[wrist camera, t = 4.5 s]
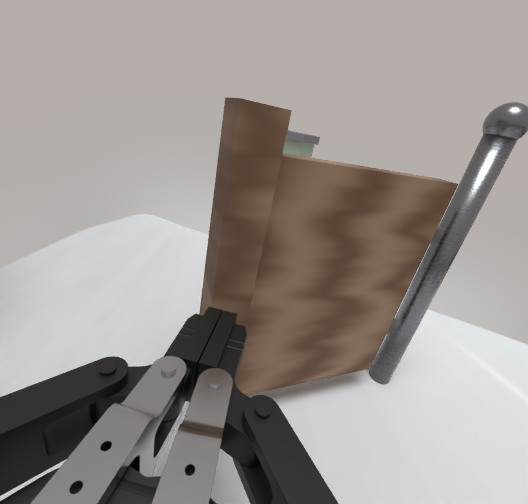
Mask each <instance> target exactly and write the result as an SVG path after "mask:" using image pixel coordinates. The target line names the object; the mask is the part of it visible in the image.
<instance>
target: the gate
mask: <svg viewBox="0 0 528 504" xmlns="http://www.w3.org/2000/svg"><path fill="white" fill-rule="evenodd" d="M290 116H291V111H290V110H287V109H283V108H278V107H274V106H270V105H266V104H261V103H257V102H253V101H249V100H245V99H240V98H225V106H224V114H223V122H222V131H221V139H220V147H219V156H218V164H217V173H216V182H215V189H214V197H213V206H212V214H211V222H210V231H209V239H208V247H207V256H206V264H205V272H204V281H203V289H202V297H201V306H200V314H199V315H204V313H205V312H206V310H207V308H208V307H213V308H217V309H221V310H223V311H224V310H225V311H229V312H233V313H237V314H238V316H237V322H236V324H238V325H241V326H245V329H246V333H247V336H246V341H245V346H244V350H243V355H242V359H241V362H240V366H239V369H238V372H237V376H236V379H235V384H236V386H237V388H238V389H239V390H240V391H241V392H242V393H243V394H245V395H247V394H252V393H256V392H261V391H266V390H271V389H275V388H280V387H285V386H289V385H294V384H299V383H304V382H308V381H313V380H318V379H323V378H327V377H332V376H337V375H342V374H346V373H351V372H356V371H361V370H365V369H370V367H371V365H372V363H373V361H374V359H375V357H376V355H377V353H378V351H379V348H380V346H381V344H382V342H383V340H384V338H385V336H386V334H391V333H395V331H396V329H397V327H398V325H399V323H400V322H398V321H397V320H396V319H395V318H394V317H395V315H396V313H397V311H398V309H399V307H400V305H401V303H402V301H403V298H404V296H405V294H406V292H407V290H408V288H409V286H410V284H411V282H412V280H413V278H414V275H415V273H416V271H417V269H418V267H419V265H420V263H421V261H422V259H423V257H424V255H425V253H426V250H427V248H428V246H429V244H439V242H440V240H441V238H442V236H443V234H444V232H445V230H446V229H443V228H441V227H439V226H438V225H439V223H440V221H441V219H442V217H443V215H444V213H445V211H446V209H447V207H448V205H449V202H450V200H451V198H452V196H453V194H454V192H455V190H456V188H457V186H458V184H456V183H452V182H448V181H445V180H441V179H436V178H430V177H424V176H418V175H412V174H406V173H400V172H394V171H388V170H382V169H376V168H370V167H364V166H358V165H352V164H346V163H339V162H334V161H328V160H321V159H315V158H310V157H304V156H298V155H292V154H286V153H283V149H284V144H285V139H286V135H287V130H288V125H289V120H290Z"/></svg>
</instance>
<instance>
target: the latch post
mask: <svg viewBox="0 0 528 504" xmlns="http://www.w3.org/2000/svg"><path fill="white" fill-rule="evenodd" d="M319 139H320V137H316V136H312V135H308V134H303V133H298V132H294V131H289V130H287V135H286V139H285V144H284V149H283V153H286V154H292V155H298V156H304V157H310V158H311V156H312V152H313V148H314V144H317V145H318V143H319Z"/></svg>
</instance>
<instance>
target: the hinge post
mask: <svg viewBox="0 0 528 504" xmlns="http://www.w3.org/2000/svg"><path fill="white" fill-rule="evenodd" d="M527 131H528V107H527V106H526V105H524V104H521V103H517V102H512V103H507V104H503V105H501V106H499V107H497V108H496V109H494V110H493V111H492V112H491V113H490V114H489V115H488V116H487V117H486V119H485V121H484V124H483V136H482V138H481V140H480V142H479V144H478V146H477V149H476V151H475V153H474V155H473V157H472V159H471V161H470V163H469V165H468V167H467V169H466V172H465V174H464V176H463V178H462V180H461V182H460V184H459V186H458V188H457V190H456V192H455V194H454V196H453V198H452V201H451V203H450V205H449V207H448V209H447V211H446V213H445V215H444V217H443V219H442V221H441V224H440V225H439V227H441V228H443V229H446V230H445V232H444V234H443V236H442V238H441V240H440V242H439V244H430V246H429V248H428V250H427V252H426V255H425V257H424V259H423V261H422V263H421V265H420V267H419V269H418V271H417V273H416V276H415V278H414V279H413V282H412V284H411V286H410V288H409V290H408V292H407V294H406V296H405V298H404V300H403V302H402V304H401V306H400V309H399V311H398V313H397V315H396V317H395V319H396V320H397V321H398V322H400V323H399V325H398V327H397V329H396V331H395V333H391V334H387V336H386V338H385V340H384V342H383V344H382V346H381V348H380V350H379V352H378V354H377V356H376V358H375V361H374V363H373V365H372V367H371V369H370V371H369V373H370V376H371V377H372V378H373V379H374V380H375V381H376V382H378V383H381V384H387V383H388V382H389V380H390V378H391V377H392V375H393V373H394V371H395V369H396V367H397V365H398V363H399V361H400V360H401V358H402V356H403V354H404V352H405V350H406V348H407V346H408V345H409V343H410V341H411V339H412V337H413V335H414V333H415V331H416V330H417V328H418V326H419V324H420V322H421V320H422V318H423V316H424V315H425V313H426V311H427V309H428V307H429V305H430V303H431V301H432V299H433V298H434V296H435V294H436V292H437V290H438V288H439V286H440V284H441V283H442V281H443V279H444V277H445V275H446V273H447V271H448V269H449V267H450V266H451V264H452V262H453V260H454V258H455V256H456V254H457V253H458V250H459V249H460V247H461V245H462V243H463V241H464V239H465V237H466V236H467V234H468V232H469V230H470V228H471V226H472V224H473V222H474V220H475V219H476V217H477V215H478V213H479V211H480V209H481V207H482V206H483V204H484V202H485V200H486V198H487V196H488V194H489V192H490V191H491V189H492V187H493V185H494V183H495V181H496V179H497V177H498V176H499V174H500V172H501V170H502V168H503V166H504V164H505V162H506V160H507V159H508V157H509V155H510V153H511V151H512V149H513V147H514V145H515V143H516V141H517V140H518V139H519V138H521V137H522V136H523V135H525V133H526V132H527Z"/></svg>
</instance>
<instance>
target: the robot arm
mask: <svg viewBox="0 0 528 504" xmlns="http://www.w3.org/2000/svg"><path fill="white" fill-rule="evenodd" d="M237 316H238V314H237V313H233V312H229V311H225V310H224V311H223V310H221V309H217V308H213V307H208V308H207V310H206V312H205V313H204V315H199V314H195V315H193V316H191V317H190V318H188V319H187V321H186V322H185V324H184V325H183V328H182V329H181V330H180V332H179V334H178V335H177V336H176V338H175V340H174V341H173V343H172V344H171V346H170V347H169V349H168V350H167V352H166V354H165V355H164V357H162V358H160V359H158V360H157V361H155V362H154V363H153V364H152V365H149V366H141V367H128V364H127V362H126V361H125V360H124V359H122V358H119V357H106V358H102V359H100V360H97V361H94V362H92V363H89V364H87V365H84V366H81V367H79V368H76V369H73V370H71V371H68V372H66V373H63V374H60V375H58V376H55V377H52V378H50V379H47V380H45V381H42V382H39V383H37V384H34V385H31V386H29V387H26V388H23V389H21V390H18V391H16V392H13V393H10V394H8V395H5V396H2V397H0V496H1V495H3V494H4V493H6V492H8V491H10V490H12V489H13V488H15V487H17V486H19V485H21V484H22V483H24V482H26V481H28V480H30V479H31V478H33V477H35V476H37V475H38V474H40V473H42V472H44V471H46V470H47V469H49V468H51V467H53V466H55V465H56V464H58V463H60V462H62V461H64V460H65V459H67V460H66V461H65V462H64V463H63V465H62V466H61V467H60V468H58V469H56V470H53V471H51V472H49V473H47V474H46V475H44V476H42V477H40V478H39V479H37V480H35V481H34V482H32V483H30V484H29V485H27V486H25V487H24V488H22V489H20V490H18V491H17V492H15V493H13V494H12V495H10V496H8V497H7V498H5V499H3V500H2V501H0V504H217V503H216V502H214V501H213V500H212V499H211V498H210V494H211V489H212V484H213V480H214V475H215V470H216V465H217V460H218V455H219V450H220V448H221V449H222V450H223V451H225V452H226V453H227V454H229V455H230V456H231V457H233V461H234V464H235V467H236V469H237V471H238V474H239V476H240V479H241V481H242V484H243V486H244V489H245V491H246V494H247V496H248V499H249V501H250V503H251V504H338V502H337V501H336V499H335V497H334V496H333V494H332V492H331V491H330V489H329V488H328V486H327V484H326V483H325V481H324V479H323V478H322V476H321V474H320V473H319V471H318V470H317V468H316V466H315V465H314V463H313V461H312V460H311V458H310V457H309V455H308V453H307V452H306V450H305V448H304V447H303V445H302V443H301V442H300V440H299V439H298V437H297V435H296V434H295V432H294V430H293V429H292V427H291V426H290V424H289V422H288V421H287V419H286V417H285V416H284V414H283V413H282V411H281V409H280V408H279V406H278V405H277V403H276V402H275V401H274V400H273V399H271V398H269V397H267V396H263V395H257V396H254V397H251V398H249V397H248V396H246V395H245V394H243V393H242V392H241V391H240V390H239V389H238V388H237V386H236V384H235V379H236V376H237V372H238V369H239V366H240V362H241V359H242V355H243V350H244V346H245V341H246V336H247V333H246V329H245V326H241V325H238V324H236V322H237ZM185 401H189V402H190V404H189V407H188V410H187V412H186V415H185V418H184V421H183V423H182V424H180V426H179V428H178V431H177V434H176V436H175V439H174V442H173V445H172V448H171V451H170V453H169V456H168V459H167V462H166V465H165V467H164V470H163V473H162V476H161V477H152V475H153V471H154V468H155V466H156V464H157V462H158V460H159V458H160V456H161V454H162V452H163V450H164V448H165V446H166V445H167V443H168V441H169V439H170V437H171V435H172V433H173V431H174V430H175V428H176V426H177V424H178V422H179V420H180V418H181V413H182V407H183V405H184V403H185Z"/></svg>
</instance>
